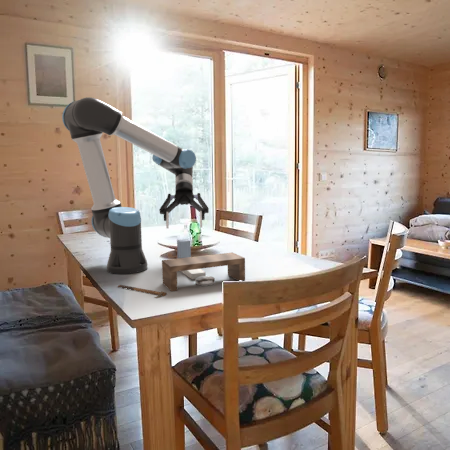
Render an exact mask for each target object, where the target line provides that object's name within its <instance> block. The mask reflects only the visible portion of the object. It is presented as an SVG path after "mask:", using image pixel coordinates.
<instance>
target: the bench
mask: <svg viewBox="0 0 450 450" xmlns="http://www.w3.org/2000/svg"><path fill="white" fill-rule="evenodd" d="M224 266H225V267H226V266H227V276H229V277H230V278H233V279H234V280H236V281H238V280H245V281H246V258H245V257H243V256H241V255H239V254H237V253H234V252H224V253H216V254H215V253H214V254H208V255H198V256H191V257H186V258H178V257H177V258H171V259H170V258H169V259H162V260H161V272H162V273H161V275H162V284H163V285H164V286H165V287H166V288H167V289H168V290H169V291H170V292H175V291H176V292H178V272H181V271H185V270H193V269H201V270H203V269H208V268H217V267H224Z"/></svg>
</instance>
